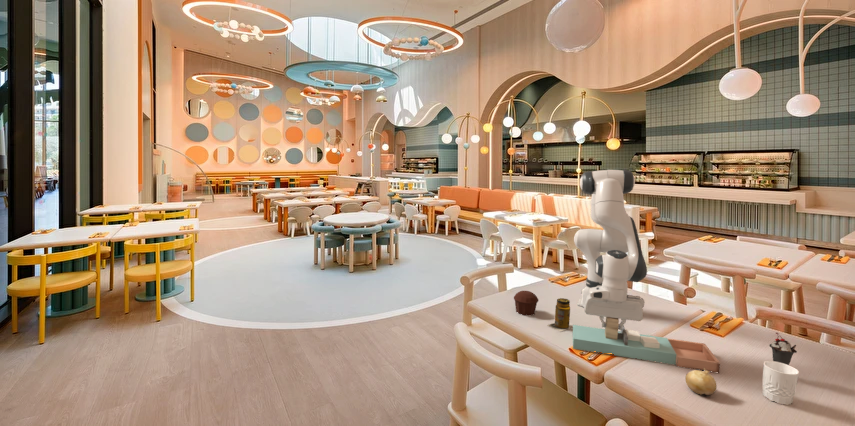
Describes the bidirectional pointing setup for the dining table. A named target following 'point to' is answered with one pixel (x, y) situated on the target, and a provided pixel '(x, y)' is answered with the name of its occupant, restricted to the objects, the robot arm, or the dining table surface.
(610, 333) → the scraper
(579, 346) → the board
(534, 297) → the muffin
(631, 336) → the tile
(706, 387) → the tan oval lump
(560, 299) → the condiment
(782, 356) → the sundae
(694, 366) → the tray
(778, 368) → the white cup
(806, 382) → the dining table surface
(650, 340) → the tile
